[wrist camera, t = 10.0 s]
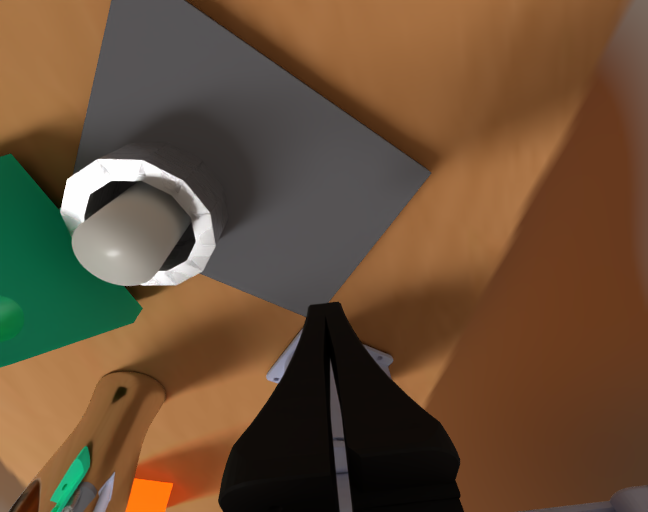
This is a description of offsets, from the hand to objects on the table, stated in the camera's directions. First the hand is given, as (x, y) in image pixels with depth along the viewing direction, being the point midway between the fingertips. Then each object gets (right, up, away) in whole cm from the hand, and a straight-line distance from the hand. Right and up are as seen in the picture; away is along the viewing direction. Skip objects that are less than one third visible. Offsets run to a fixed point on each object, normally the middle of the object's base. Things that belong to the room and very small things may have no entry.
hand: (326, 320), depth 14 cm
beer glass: (-18, -10, +16) cm, 27 cm away
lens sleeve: (-10, +7, +6) cm, 13 cm away
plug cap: (-10, +6, +5) cm, 13 cm away
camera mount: (-19, +3, +8) cm, 21 cm away
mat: (-5, +7, +6) cm, 11 cm away
